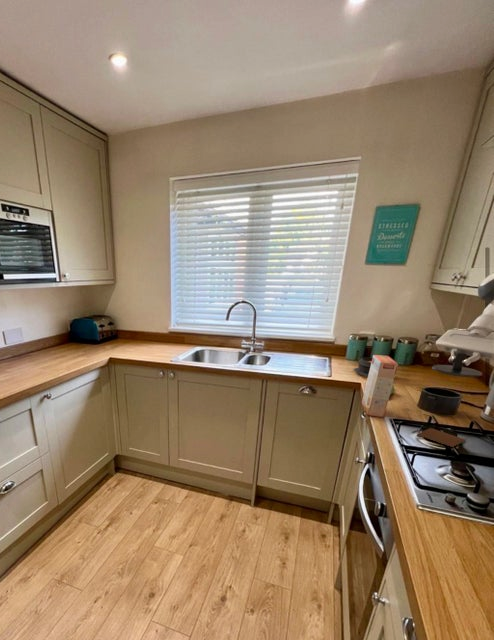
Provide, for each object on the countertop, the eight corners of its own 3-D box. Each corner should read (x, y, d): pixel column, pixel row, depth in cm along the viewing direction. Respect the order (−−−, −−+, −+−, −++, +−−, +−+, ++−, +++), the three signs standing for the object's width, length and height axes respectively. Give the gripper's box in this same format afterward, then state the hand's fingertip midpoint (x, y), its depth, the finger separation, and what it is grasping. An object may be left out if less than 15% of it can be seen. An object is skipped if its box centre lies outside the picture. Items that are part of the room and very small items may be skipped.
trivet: (464, 441, 106) (465, 439, 106) (452, 448, 101) (452, 447, 101) (429, 429, 114) (430, 427, 114) (416, 436, 109) (416, 434, 109)
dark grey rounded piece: (394, 384, 164) (398, 367, 161) (353, 378, 172) (356, 363, 169) (390, 372, 185) (394, 358, 182) (353, 368, 193) (356, 354, 190)
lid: (487, 374, 108) (494, 355, 106) (472, 380, 102) (479, 359, 99) (441, 366, 119) (446, 348, 116) (424, 370, 112) (429, 351, 110)
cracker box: (384, 418, 123) (399, 363, 115) (366, 415, 124) (379, 361, 117) (377, 405, 135) (389, 355, 128) (361, 403, 137) (372, 353, 130)
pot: (463, 413, 129) (470, 393, 126) (444, 423, 120) (451, 401, 117) (427, 403, 139) (433, 384, 136) (407, 411, 129) (413, 391, 126)
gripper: (448, 321, 116) (423, 350, 116) (522, 329, 99) (492, 363, 98) (452, 333, 120) (427, 361, 119) (524, 343, 102) (496, 376, 102)
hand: (457, 362), depth 109 cm, fingers closed on lid, 2 cm apart
